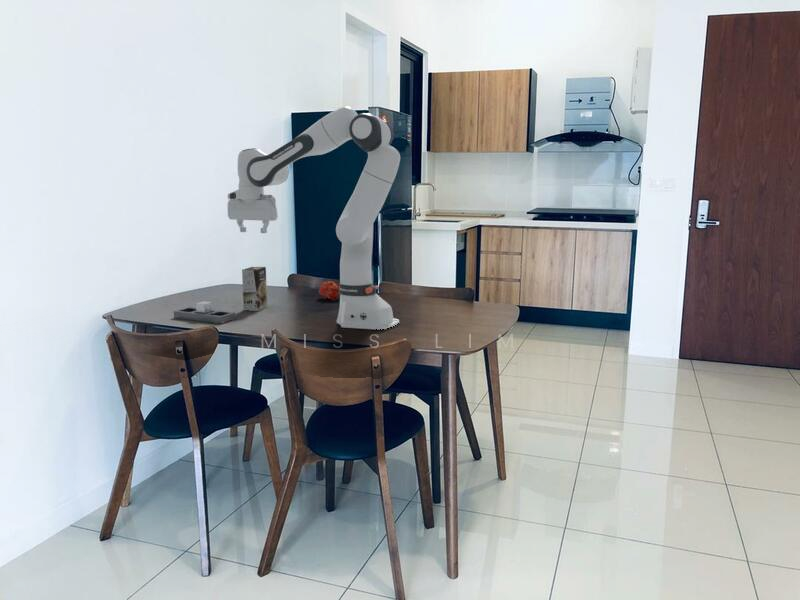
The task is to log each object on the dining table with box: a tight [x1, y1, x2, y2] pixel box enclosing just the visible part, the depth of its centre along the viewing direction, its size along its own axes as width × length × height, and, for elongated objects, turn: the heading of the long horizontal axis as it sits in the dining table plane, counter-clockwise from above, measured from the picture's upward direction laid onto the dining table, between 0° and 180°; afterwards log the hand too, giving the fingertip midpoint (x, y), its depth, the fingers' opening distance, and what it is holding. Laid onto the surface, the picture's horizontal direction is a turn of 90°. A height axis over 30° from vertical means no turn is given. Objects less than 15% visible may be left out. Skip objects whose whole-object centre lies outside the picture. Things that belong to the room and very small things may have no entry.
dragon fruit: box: [317, 280, 340, 301], centre depth 268 cm, size 8×8×12 cm
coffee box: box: [241, 266, 268, 312], centre depth 249 cm, size 9×6×16 cm
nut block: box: [195, 300, 214, 314], centre depth 233 cm, size 4×4×6 cm
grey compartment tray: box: [173, 306, 237, 324], centre depth 233 cm, size 22×8×2 cm, turn 64°
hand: (253, 232), depth 234 cm, fingers open, 8 cm apart
